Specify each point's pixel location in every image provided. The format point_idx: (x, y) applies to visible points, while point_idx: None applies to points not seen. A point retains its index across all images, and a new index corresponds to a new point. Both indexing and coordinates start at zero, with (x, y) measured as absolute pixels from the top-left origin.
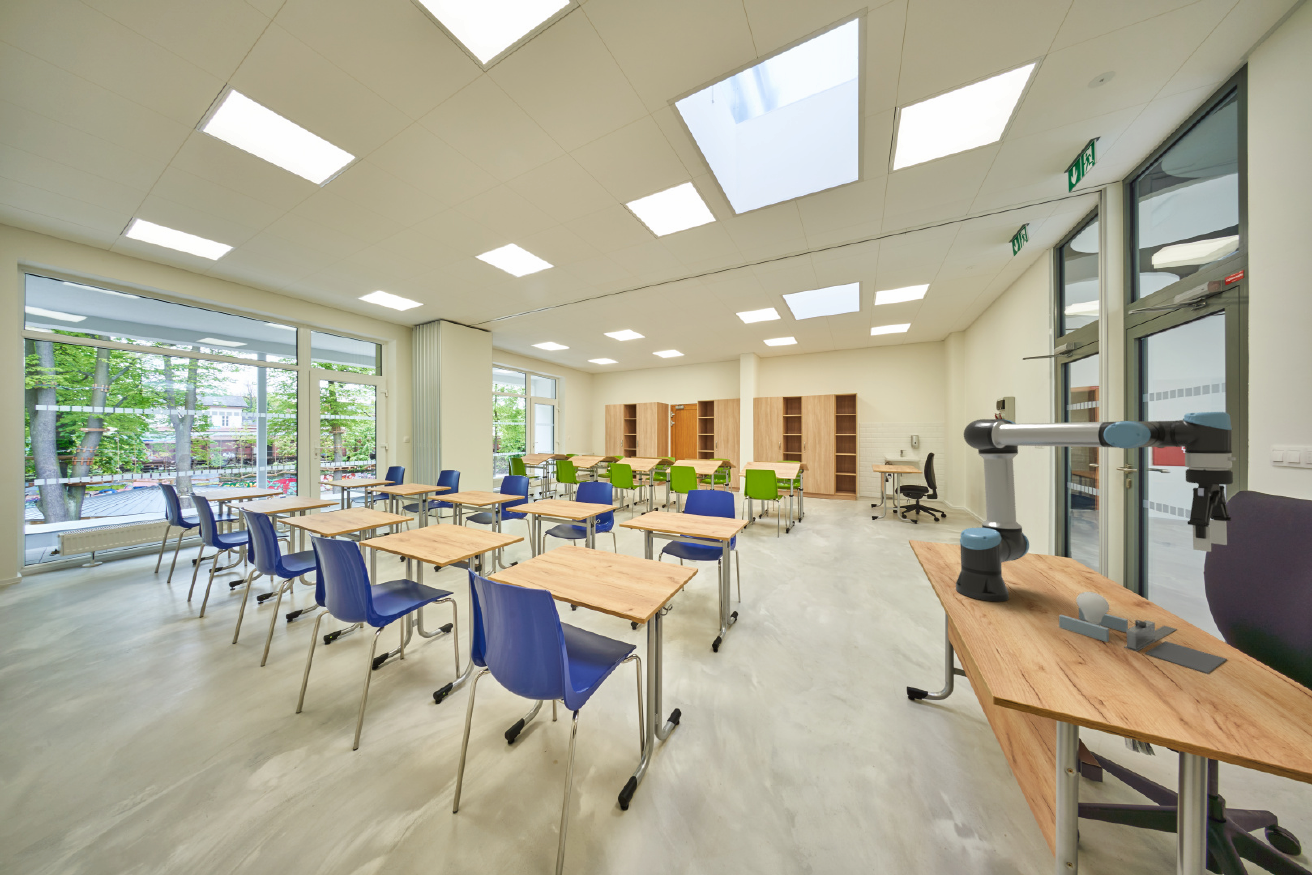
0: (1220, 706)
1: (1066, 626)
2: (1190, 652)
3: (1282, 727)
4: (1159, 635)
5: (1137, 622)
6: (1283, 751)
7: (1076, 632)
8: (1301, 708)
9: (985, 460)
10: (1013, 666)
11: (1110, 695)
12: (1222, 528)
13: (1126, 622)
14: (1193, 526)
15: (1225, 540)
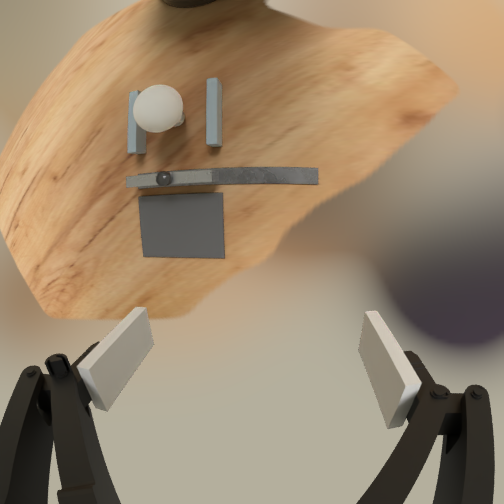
0: (79, 278)
1: None
2: (202, 226)
3: (87, 311)
4: (247, 178)
5: (156, 176)
6: (57, 311)
7: None
8: None
9: None
10: (12, 161)
11: (27, 225)
12: (380, 391)
13: (212, 144)
14: (81, 364)
15: (364, 360)
